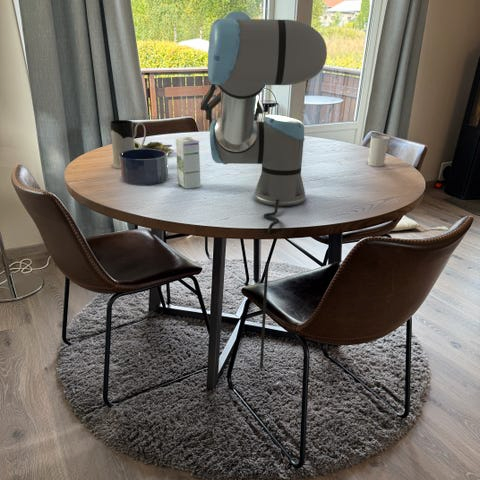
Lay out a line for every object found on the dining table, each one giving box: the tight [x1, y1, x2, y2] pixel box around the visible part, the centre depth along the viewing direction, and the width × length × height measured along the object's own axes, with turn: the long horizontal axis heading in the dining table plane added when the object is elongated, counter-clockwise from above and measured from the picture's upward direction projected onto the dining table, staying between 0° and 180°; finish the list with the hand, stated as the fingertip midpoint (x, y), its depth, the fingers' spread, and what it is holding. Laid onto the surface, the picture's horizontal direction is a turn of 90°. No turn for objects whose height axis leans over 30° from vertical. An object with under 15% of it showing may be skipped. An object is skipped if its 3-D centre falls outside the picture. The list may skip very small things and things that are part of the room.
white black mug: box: [109, 119, 147, 170], centre depth 177 cm, size 9×14×15 cm, turn 135°
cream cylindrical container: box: [367, 134, 390, 167], centre depth 187 cm, size 7×7×10 cm
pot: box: [119, 149, 169, 186], centre depth 164 cm, size 15×15×8 cm
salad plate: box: [134, 140, 174, 156], centre depth 196 cm, size 19×18×5 cm
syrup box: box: [175, 136, 201, 190], centre depth 156 cm, size 6×6×14 cm
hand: (230, 128), depth 166 cm, fingers open, 13 cm apart
